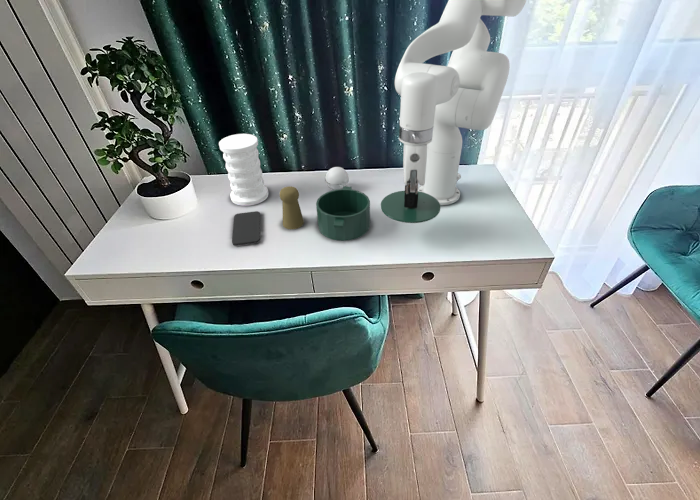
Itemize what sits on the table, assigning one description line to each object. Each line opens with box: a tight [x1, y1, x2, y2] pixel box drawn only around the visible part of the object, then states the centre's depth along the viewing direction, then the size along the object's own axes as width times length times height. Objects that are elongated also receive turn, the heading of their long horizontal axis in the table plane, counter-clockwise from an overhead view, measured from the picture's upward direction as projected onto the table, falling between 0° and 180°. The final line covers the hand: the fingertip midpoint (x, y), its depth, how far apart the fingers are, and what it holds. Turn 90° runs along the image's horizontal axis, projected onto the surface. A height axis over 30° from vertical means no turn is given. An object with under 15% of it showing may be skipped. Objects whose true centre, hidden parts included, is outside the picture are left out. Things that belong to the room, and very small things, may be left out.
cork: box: [279, 185, 305, 230], centre depth 109 cm, size 6×6×11 cm
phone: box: [231, 210, 261, 247], centre depth 111 cm, size 7×1×15 cm
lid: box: [380, 185, 441, 224], centre depth 101 cm, size 15×15×6 cm
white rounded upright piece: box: [324, 166, 350, 191], centre depth 124 cm, size 10×7×7 cm
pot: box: [315, 185, 371, 242], centre depth 109 cm, size 14×20×8 cm
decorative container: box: [218, 133, 269, 207], centre depth 120 cm, size 12×12×18 cm
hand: (410, 202), depth 101 cm, fingers closed on lid, 2 cm apart
